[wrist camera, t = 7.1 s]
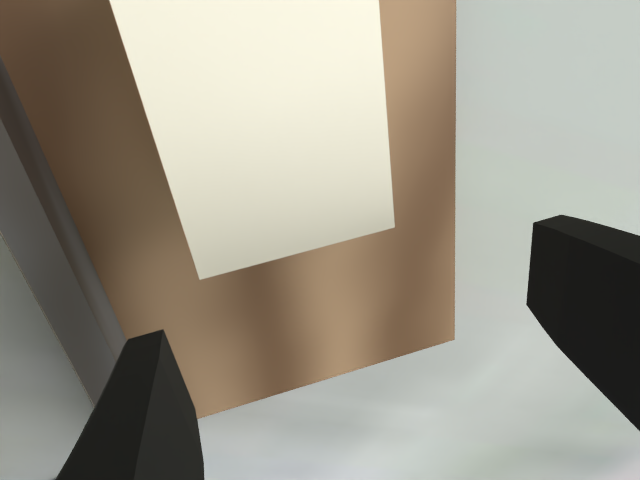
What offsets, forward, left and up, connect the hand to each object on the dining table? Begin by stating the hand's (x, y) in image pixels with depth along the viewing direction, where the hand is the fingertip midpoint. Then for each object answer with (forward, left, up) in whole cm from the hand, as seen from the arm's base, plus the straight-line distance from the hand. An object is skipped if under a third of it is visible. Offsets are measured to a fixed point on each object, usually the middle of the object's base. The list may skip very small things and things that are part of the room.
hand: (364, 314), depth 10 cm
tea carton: (-1, +3, -8) cm, 9 cm away
